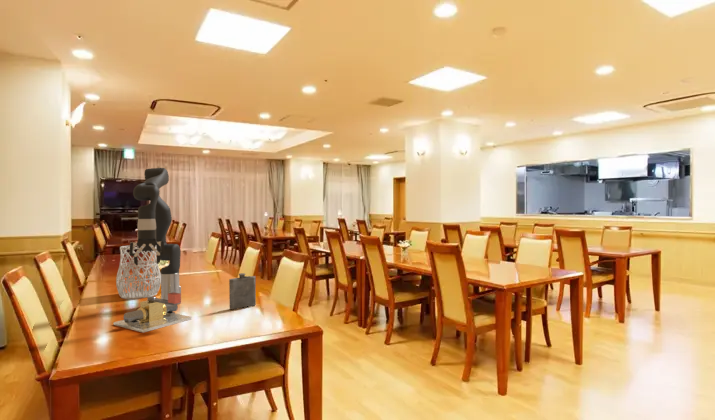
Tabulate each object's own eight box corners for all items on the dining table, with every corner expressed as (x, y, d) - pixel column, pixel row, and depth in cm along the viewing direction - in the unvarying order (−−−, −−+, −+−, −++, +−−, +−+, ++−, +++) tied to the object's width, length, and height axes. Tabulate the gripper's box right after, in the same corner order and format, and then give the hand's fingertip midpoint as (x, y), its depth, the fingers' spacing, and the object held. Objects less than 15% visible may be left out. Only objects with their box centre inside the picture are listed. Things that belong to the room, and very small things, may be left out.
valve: (162, 313, 211) (161, 294, 211) (191, 319, 199) (191, 299, 199) (113, 324, 190) (113, 303, 190) (143, 332, 178) (142, 310, 178)
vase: (127, 291, 265) (126, 244, 264) (166, 290, 267) (166, 243, 267) (108, 300, 241) (107, 248, 240) (152, 299, 243) (151, 247, 243)
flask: (228, 308, 219) (227, 274, 219) (253, 304, 228) (253, 271, 228) (230, 310, 216) (230, 275, 216) (256, 305, 225) (256, 272, 225)
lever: (145, 300, 195) (145, 290, 194) (153, 299, 198) (152, 288, 198) (174, 306, 183) (174, 294, 183) (181, 304, 186) (181, 293, 186)
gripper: (163, 228, 197) (163, 262, 197) (128, 229, 190) (129, 264, 190) (164, 228, 191) (165, 264, 191) (129, 229, 184) (129, 266, 184)
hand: (147, 264), depth 191 cm, fingers open, 8 cm apart
